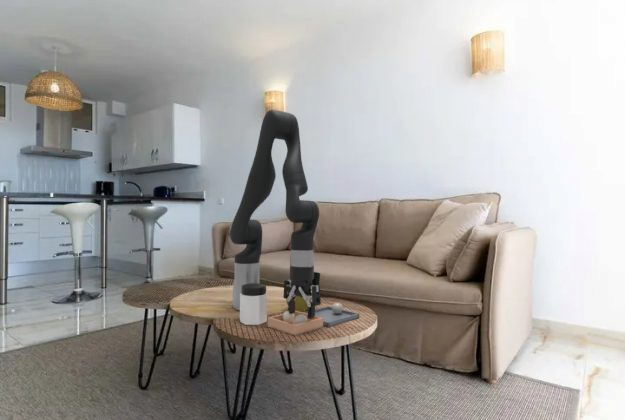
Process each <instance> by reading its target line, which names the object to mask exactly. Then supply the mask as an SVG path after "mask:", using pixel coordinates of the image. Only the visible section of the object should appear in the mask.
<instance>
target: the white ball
mask: <svg viewBox="0 0 625 420" xmlns="http://www.w3.org/2000/svg"><path fill="white" fill-rule="evenodd" d="M282 314H283V321H284V322H287V323H292V322H293V321H294V319H295V315H294V313H292V314H290V313H289V311H288V310H286V311H284V312H283V313H282Z"/></svg>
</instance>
